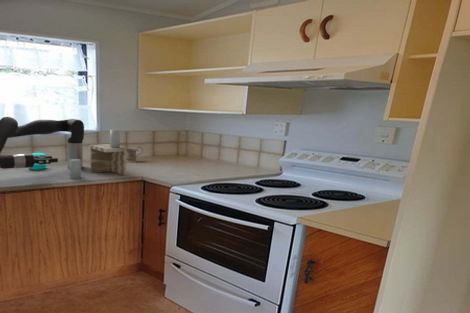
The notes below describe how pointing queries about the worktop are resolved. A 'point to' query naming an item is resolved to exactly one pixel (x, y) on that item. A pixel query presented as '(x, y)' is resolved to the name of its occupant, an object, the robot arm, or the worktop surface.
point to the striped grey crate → (108, 159)
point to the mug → (131, 155)
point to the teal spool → (38, 166)
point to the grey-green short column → (75, 168)
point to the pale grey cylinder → (115, 138)
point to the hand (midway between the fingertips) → (54, 159)
